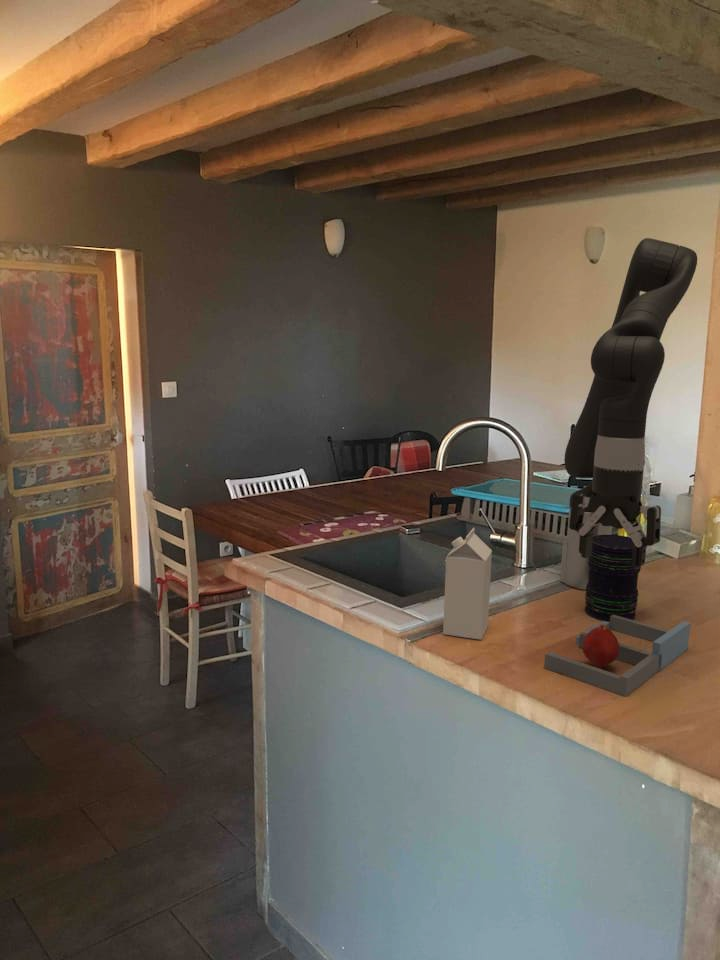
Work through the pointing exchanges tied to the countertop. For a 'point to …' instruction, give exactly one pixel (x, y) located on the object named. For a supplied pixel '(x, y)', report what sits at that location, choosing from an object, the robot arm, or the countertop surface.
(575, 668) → the channel organiser
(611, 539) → the storage jar
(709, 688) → the countertop surface
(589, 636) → the pomegranate
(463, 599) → the milk carton
